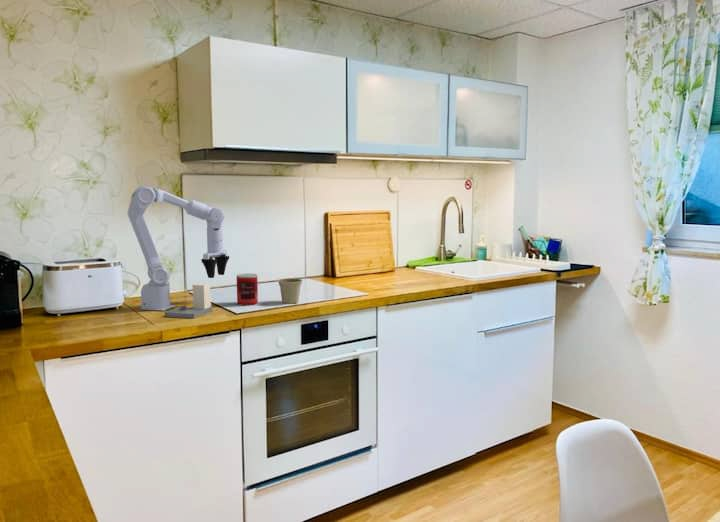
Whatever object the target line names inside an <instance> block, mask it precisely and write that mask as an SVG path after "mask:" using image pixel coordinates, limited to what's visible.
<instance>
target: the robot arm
mask: <svg viewBox="0 0 720 522" xmlns="http://www.w3.org/2000/svg"><path fill="white" fill-rule="evenodd" d="M200 201H201V199H198V198H196V199H191V200H187V199H183V198H182V197H179V196H176V195H175V194H172V193H170V192H168V191H166V190H162V189H159V188H153V187H150V186H147V185H143V186H139V187H137V188H136V189H135V191H133V192H132V194H131V197H130V201H129V205H128V209H127V216H128V219H129V222H130V223H131V226H132V230H133V231H134V233H135V236H136V239H137V241H138V243H139V247H140V249H141V250H140V251H142V254H143V256H144V260H145V263H146V266H147V276H148V278H149V279H150V280H149V282H148V283H145V284H143V286H142V287H141V290H140V300H141V301H140V303H141V307H140V309H139V310H141V311H142V310H143V311H144V310H145V311H166V310H170V309H173V308H176V305H175V304H171V293H170V292H171V291H170V282H169V281H168V280H170V273H169V270H167V269H166V268H165V267H164V265H163V262H162V261H161V258H160V256H159V253H158V251H157V248H156V246H155V243H154V241H153V239H152V236H151V233H150V230H149V227H148V225H147V223H146V220H145V216H144V214H145V213H146V210H147V209H148V207H150V205H152V204H153V202H156V203H159V202H160V203H161V202H165V203H168V204H170V205H172V206H175V207H179V208H181V209H184V210H185V212H186V214H187V215H190V216H192V217H195V218H196V219H200V220H203V221H206V243H207V244H206V245H207V247H206V248H207V249H206V250H207V252H205V253H203V254H202V258H201V263H202V264H203V266H204V268H205V271H206V274H207V278H208V279H214V278H215V274H216V271H215V270H216V269H217V274H218V275H219V276H225V271H226V267H227V264H228V261H229V259H230V256H229V255H228V250H227V249H224V237H223V236H224V235H223V229H224V228H223V222H224V219H225V215H224V213H223V212H222V210H221V209H219V208H215V207H213V205H212V204H205V203H203V202H202V201H201V202H200Z"/></svg>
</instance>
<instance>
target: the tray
mask: <svg viewBox="0 0 720 522" xmlns="http://www.w3.org/2000/svg"><path fill="white" fill-rule="evenodd" d="M212 311H213V307H212V306H211V307H209V308H206V309H204V310H203V309H193V308H187V305H181V306H179V307H175V308H172V309H169V310H168V311H165V312H164V317H165V318H180V319H182V318H184V319H195V318H198V317H200V316H203V315H205V314H208V313H210V312H212Z"/></svg>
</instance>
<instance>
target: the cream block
mask: <svg viewBox="0 0 720 522" xmlns="http://www.w3.org/2000/svg"><path fill="white" fill-rule="evenodd" d="M191 287H192V309H203V310H204V309H206V308H209V307H212V306H211V302H212V301H211V296H212V295H211V283H209V282H207V283H206V282H198V283H195V284H192V286H191Z"/></svg>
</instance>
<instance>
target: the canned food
mask: <svg viewBox="0 0 720 522" xmlns="http://www.w3.org/2000/svg"><path fill="white" fill-rule="evenodd" d="M258 282H259V281H258V274H256V273H238V274H236V301H237V304H238V305H239V306H255V305H257V304H258V303H259V302H258V301H259V299H258V298H259V297H258V296H259V294H258V293H259V292H258V291H259V290H258Z"/></svg>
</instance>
